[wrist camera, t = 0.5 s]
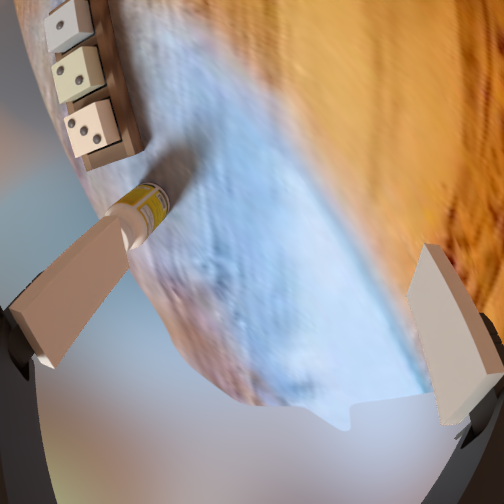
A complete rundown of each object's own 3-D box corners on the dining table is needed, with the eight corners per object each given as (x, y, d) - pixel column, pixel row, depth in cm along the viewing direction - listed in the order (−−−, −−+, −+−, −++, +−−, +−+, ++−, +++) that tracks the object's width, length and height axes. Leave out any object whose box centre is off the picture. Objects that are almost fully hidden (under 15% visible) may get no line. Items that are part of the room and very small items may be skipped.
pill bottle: (127, 205, 42) (85, 241, 33) (143, 173, 39) (98, 204, 30) (159, 229, 44) (123, 271, 34) (178, 198, 41) (141, 236, 31)
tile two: (66, 65, 29) (50, 66, 27) (96, 46, 28) (80, 46, 25) (74, 100, 32) (58, 104, 29) (105, 84, 31) (89, 86, 28)
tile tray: (59, 14, 27) (48, 13, 25) (104, -16, 24) (94, -19, 22) (96, 166, 40) (86, 171, 38) (144, 150, 37) (135, 154, 35)
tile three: (78, 114, 33) (62, 118, 30) (109, 99, 32) (93, 102, 29) (89, 151, 36) (74, 158, 33) (120, 139, 35) (106, 145, 32)
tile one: (58, 20, 26) (42, 20, 23) (88, 0, 24) (72, -3, 21) (63, 52, 28) (47, 53, 26) (93, 33, 27) (78, 32, 24)
